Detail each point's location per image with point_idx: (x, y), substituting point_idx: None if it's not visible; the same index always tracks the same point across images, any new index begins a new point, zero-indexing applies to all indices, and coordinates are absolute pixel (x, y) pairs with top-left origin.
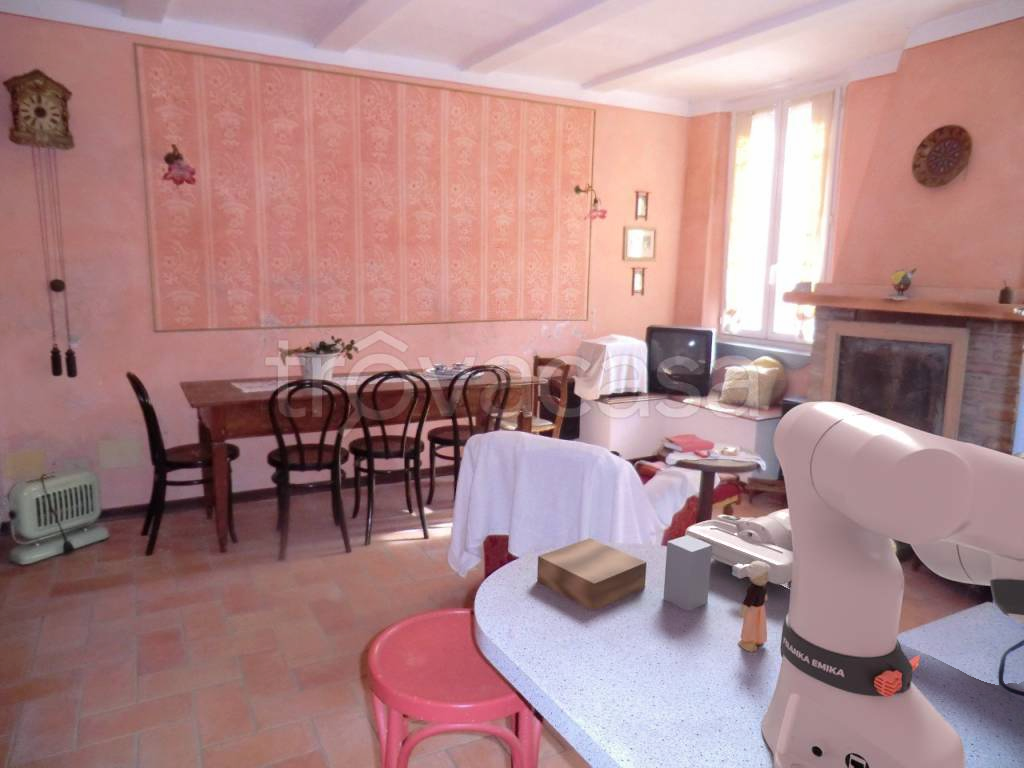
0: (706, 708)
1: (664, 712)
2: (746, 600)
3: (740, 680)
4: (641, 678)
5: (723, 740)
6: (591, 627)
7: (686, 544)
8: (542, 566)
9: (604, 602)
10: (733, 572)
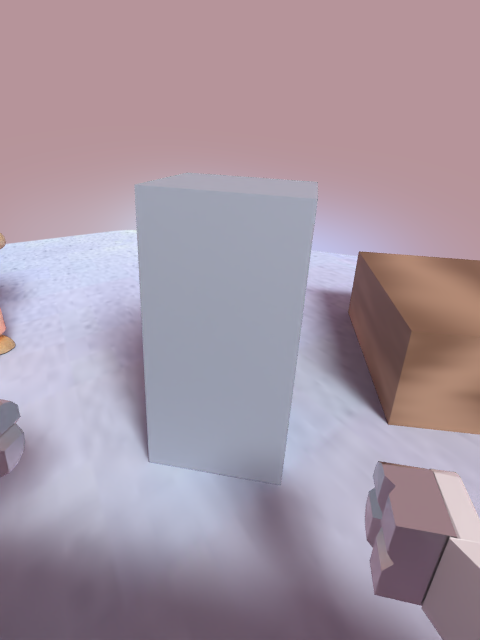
0: (65, 259)
1: (113, 249)
2: None
3: (14, 291)
4: None
5: (39, 247)
6: None
7: (243, 181)
8: None
9: (355, 320)
10: (13, 429)
